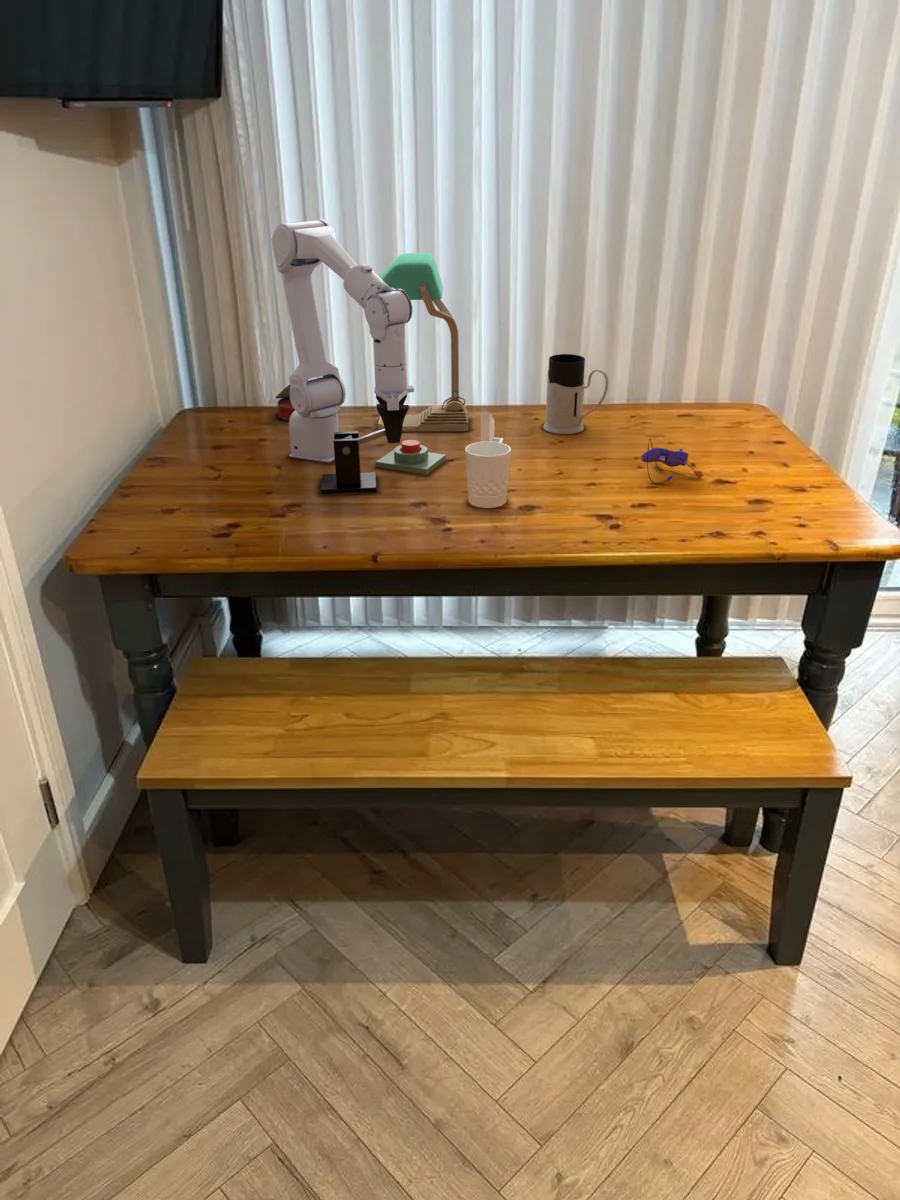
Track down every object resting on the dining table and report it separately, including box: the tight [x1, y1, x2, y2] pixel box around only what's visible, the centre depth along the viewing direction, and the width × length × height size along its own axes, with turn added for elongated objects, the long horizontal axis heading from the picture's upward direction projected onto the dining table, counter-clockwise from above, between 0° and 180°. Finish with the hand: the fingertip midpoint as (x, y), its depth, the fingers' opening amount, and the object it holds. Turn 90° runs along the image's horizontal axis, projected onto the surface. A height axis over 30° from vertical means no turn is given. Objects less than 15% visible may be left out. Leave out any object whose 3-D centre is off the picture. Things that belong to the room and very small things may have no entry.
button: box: [400, 439, 421, 453], centre depth 185 cm, size 4×4×2 cm
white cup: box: [464, 441, 512, 509], centre depth 167 cm, size 8×8×10 cm
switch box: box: [375, 444, 447, 475], centre depth 186 cm, size 11×9×3 cm
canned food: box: [275, 384, 295, 421], centre depth 215 cm, size 11×10×10 cm
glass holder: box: [542, 353, 609, 435], centre depth 201 cm, size 9×14×15 cm, turn 54°
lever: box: [342, 429, 386, 446], centre depth 172 cm, size 12×3×3 cm, turn 96°
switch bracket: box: [320, 430, 377, 495], centre depth 174 cm, size 10×8×10 cm
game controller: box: [640, 438, 701, 485], centre depth 179 cm, size 10×8×10 cm
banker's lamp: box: [377, 252, 469, 433], centre depth 200 cm, size 16×21×35 cm
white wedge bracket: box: [479, 411, 504, 444], centre depth 187 cm, size 4×10×9 cm
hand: (393, 437), depth 172 cm, fingers open, 5 cm apart
